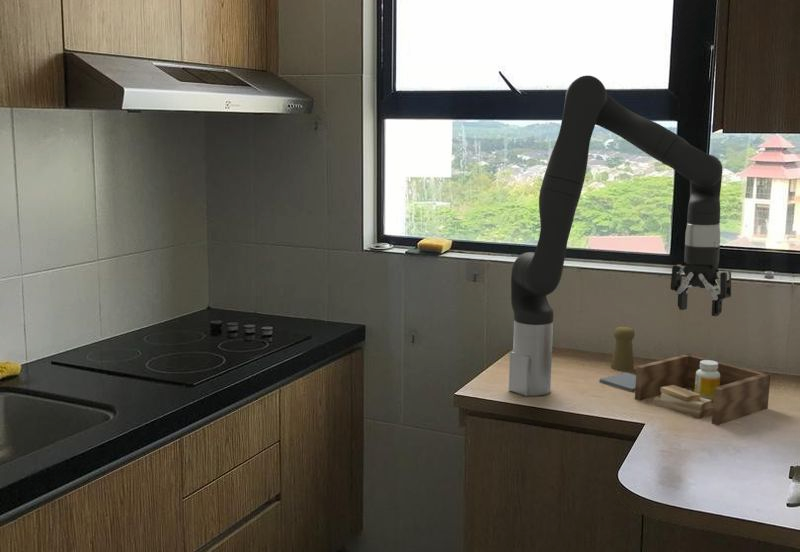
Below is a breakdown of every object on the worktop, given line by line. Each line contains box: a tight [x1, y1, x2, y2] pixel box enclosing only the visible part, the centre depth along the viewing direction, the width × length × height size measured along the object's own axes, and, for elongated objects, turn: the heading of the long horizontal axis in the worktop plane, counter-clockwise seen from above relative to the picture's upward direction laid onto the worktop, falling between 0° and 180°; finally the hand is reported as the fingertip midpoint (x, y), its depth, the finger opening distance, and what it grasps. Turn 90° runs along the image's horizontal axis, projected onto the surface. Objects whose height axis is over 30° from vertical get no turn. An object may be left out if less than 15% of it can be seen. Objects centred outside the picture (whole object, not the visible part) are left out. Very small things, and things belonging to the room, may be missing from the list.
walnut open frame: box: [634, 353, 771, 426], centre depth 204 cm, size 20×22×8 cm
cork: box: [610, 326, 635, 372], centre depth 232 cm, size 6×6×11 cm
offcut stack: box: [653, 385, 713, 419], centre depth 200 cm, size 6×12×4 cm, turn 37°
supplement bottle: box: [693, 359, 720, 406], centre depth 205 cm, size 5×5×10 cm
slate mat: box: [599, 371, 636, 393], centre depth 219 cm, size 10×10×1 cm
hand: (699, 312), depth 204 cm, fingers open, 8 cm apart
